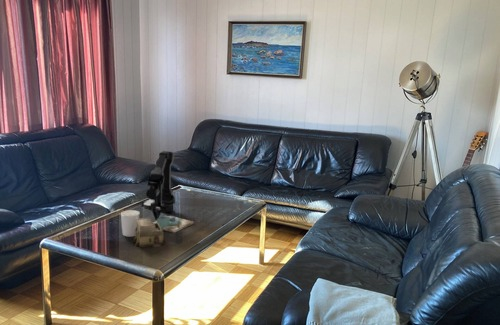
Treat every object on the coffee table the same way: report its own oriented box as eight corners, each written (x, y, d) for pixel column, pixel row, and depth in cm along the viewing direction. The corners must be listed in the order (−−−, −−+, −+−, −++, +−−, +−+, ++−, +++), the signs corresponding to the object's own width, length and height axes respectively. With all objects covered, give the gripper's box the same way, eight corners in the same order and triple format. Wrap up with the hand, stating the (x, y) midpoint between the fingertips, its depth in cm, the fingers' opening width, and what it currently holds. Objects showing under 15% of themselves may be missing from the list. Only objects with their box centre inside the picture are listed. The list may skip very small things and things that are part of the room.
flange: (170, 218, 242) (170, 210, 241) (184, 221, 238) (184, 213, 237) (152, 225, 228) (152, 217, 227) (166, 229, 224) (166, 221, 223)
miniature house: (137, 249, 200) (136, 228, 198) (133, 239, 213) (132, 218, 210) (166, 246, 206) (167, 225, 204) (161, 236, 219) (161, 216, 216)
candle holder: (143, 232, 222) (143, 211, 220) (132, 238, 213) (132, 217, 211) (128, 229, 225) (128, 209, 223) (117, 235, 216) (116, 214, 214)
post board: (149, 225, 232) (149, 217, 231) (170, 217, 248) (170, 209, 247) (174, 232, 224) (174, 224, 223) (193, 223, 239) (193, 215, 238)
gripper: (134, 194, 227) (134, 220, 230) (159, 200, 218) (159, 227, 221) (148, 190, 236) (148, 215, 239) (172, 195, 227) (172, 221, 231)
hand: (156, 219), depth 232 cm, fingers closed
